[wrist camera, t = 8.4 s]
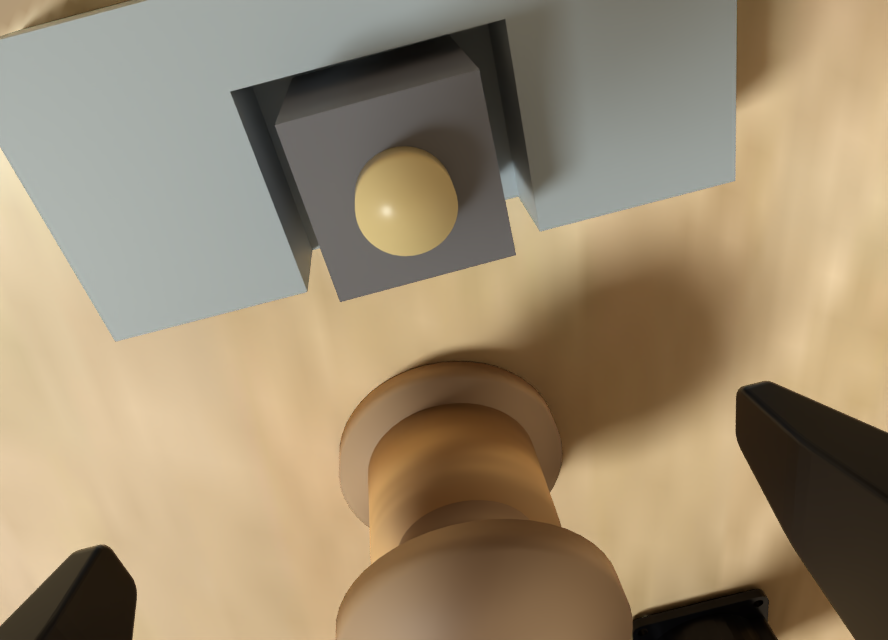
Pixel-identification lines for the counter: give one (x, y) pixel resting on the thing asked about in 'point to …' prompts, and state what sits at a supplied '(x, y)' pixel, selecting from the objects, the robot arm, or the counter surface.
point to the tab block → (397, 166)
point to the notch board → (263, 158)
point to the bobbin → (467, 516)
